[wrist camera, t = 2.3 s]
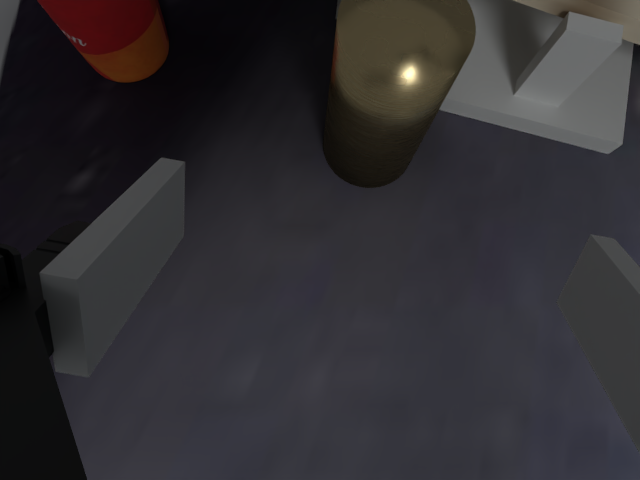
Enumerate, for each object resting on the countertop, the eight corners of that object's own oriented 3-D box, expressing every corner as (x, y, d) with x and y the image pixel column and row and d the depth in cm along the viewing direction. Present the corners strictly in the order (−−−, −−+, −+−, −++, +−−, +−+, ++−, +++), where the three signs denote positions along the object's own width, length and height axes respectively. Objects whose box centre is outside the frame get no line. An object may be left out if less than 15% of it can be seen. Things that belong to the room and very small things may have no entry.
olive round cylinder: (430, 156, 33) (504, 40, 21) (358, 204, 31) (393, 110, 20) (376, 89, 34) (418, -56, 22) (305, 134, 33) (309, 5, 21)
